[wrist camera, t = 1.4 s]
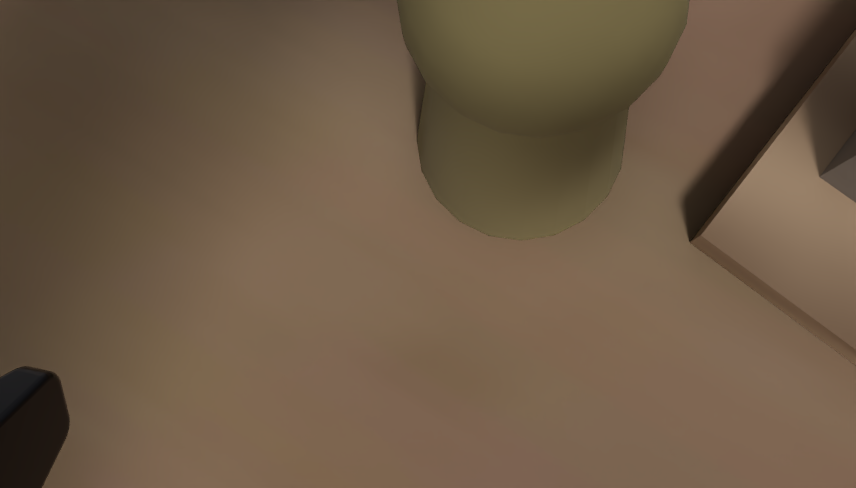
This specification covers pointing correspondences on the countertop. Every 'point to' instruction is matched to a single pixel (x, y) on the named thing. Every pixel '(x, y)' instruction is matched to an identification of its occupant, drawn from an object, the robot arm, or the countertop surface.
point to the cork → (531, 102)
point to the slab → (800, 212)
